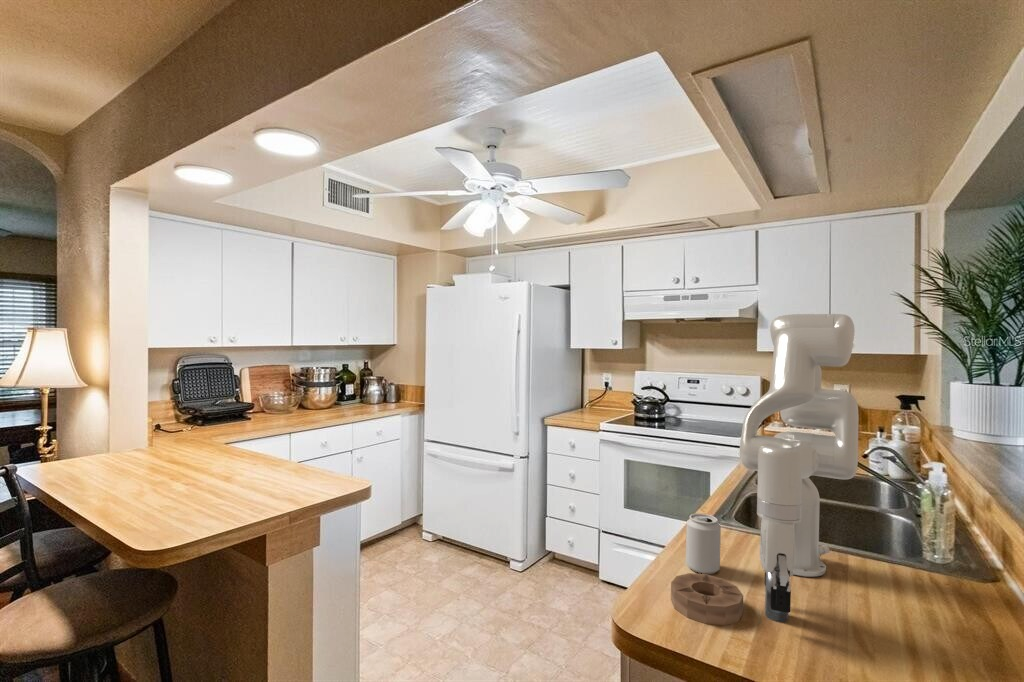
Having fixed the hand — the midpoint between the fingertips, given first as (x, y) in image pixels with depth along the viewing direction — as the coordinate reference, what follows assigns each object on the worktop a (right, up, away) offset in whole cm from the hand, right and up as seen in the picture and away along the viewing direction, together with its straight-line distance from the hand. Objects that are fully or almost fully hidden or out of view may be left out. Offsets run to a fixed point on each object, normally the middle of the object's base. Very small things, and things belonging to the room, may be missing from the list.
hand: (776, 598), depth 97 cm
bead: (-12, -3, +3) cm, 13 cm away
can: (-7, -4, +20) cm, 22 cm away
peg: (0, -4, 0) cm, 4 cm away
